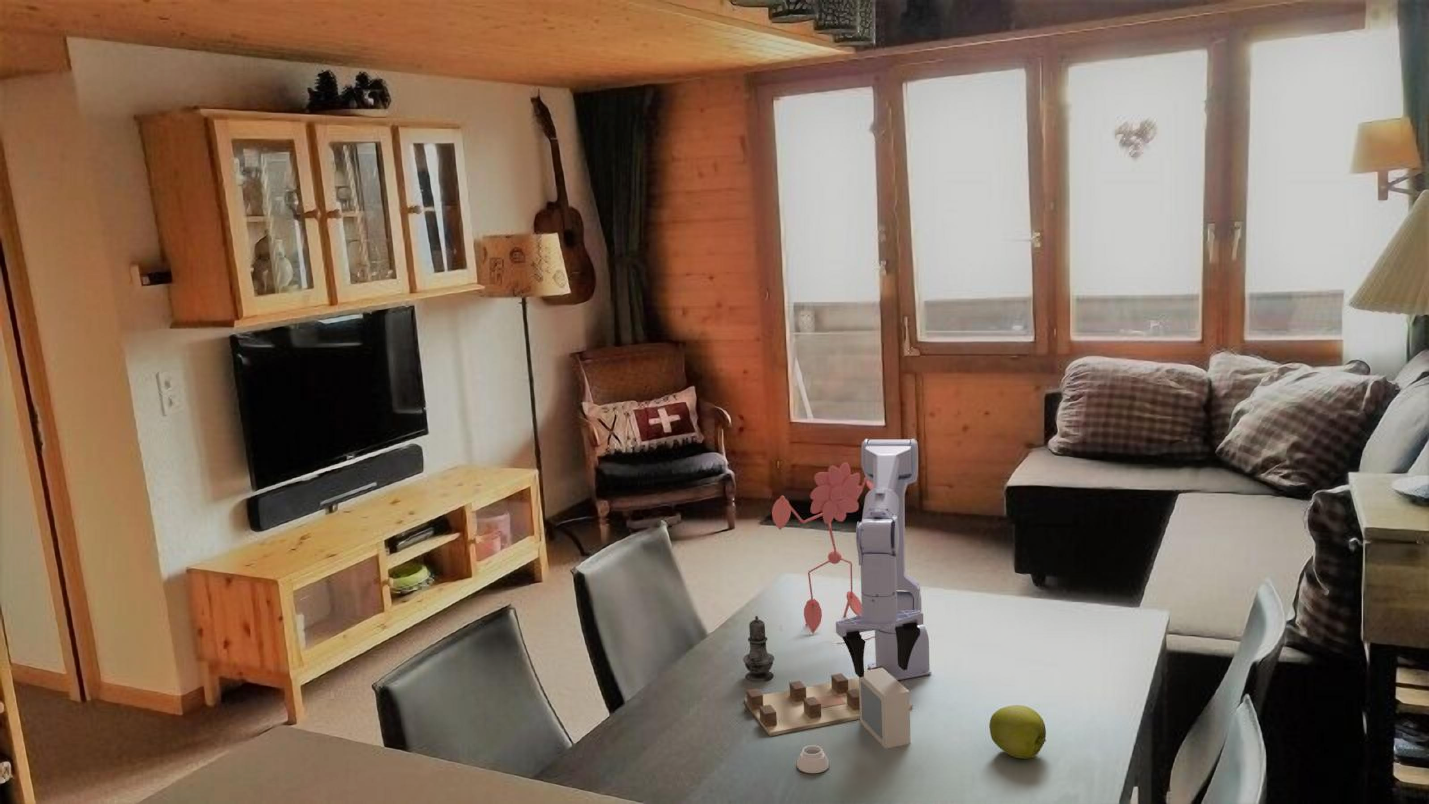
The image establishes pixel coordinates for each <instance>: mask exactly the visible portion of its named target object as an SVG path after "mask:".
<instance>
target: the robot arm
mask: <svg viewBox="0 0 1429 804" xmlns="http://www.w3.org/2000/svg"><path fill="white" fill-rule="evenodd" d="M918 445H919V444H918V441H917V440H916V439H915V438H911V439H910V438H908V439H907V438H906V439H903V438H902V439H899V438H898V439H892V438H891V439H887V438H886V439H885V438H884V439H880V438H879V439H869V438H865V439H864V440H863V441H862V442H861V449H860V450H861V451H860V453H861V454H860V459H861V460H860V463H861V469H862V471H863V474H864V476H865V477H866V478H867V480H868V481H869V482H872V483H873V489H872V490H870V489H869V491H868V492H867V493H866V495H865V498H864V504H863V510H862V516H861V517H862V518H861V521H857V523H856V527H855V545H856V546H855V547H856V549H857V558H858V559H857V560H858V566H860V594H861V599H860V601H861V604H862V615H859V616H857V615H856V616H853V617H849V618H847V619H843V620H839V621H835V633H836V634H837V636H839V637H841V638H842V640H843V643H844V644H845V647H846V648H847V650H848V653H849V655H850V657H851V661H852V665H853V669H854V674H855V675H856V676H857V677H858V678H859V677H864V671H865V663H864V660H865V659H864V657H865V647H866V640H865V639H863V638H862V634H861V633H864V632H866V633H867V632H870V631H871V632H872V631H874V636H875V637H874V643H875V644H874V647H875V648H874V651H875V662H870V663H868V664H867V667H868V669H869V670H872V668H874V667H879V666H883V667H884V668H885V669H886V670H887V671H889V674H890V675H891V676H893V677H894V678H895V679H896V680H897V681H901V680H906V679H907V680H908V679H911V678H916V677H917V678H918V677H922V676H928V675H931V674H932V670H931V669H930V640H929V635H928V631H927V629H926V626H925V624H924V613H923V611H922V610H923V609H922V595H921V586H920V583H919V582H918V581H917V580H916V579H914V578H913V577H912V576H910V575H909V574H908V573H907V572H906V537H905V536H906V528H905V526H906V524H905V523H906V522H905V517H906V515H905V513H906V512H905V511H906V509H905V508H906V507H905V501H906V500H905V499H906V498H905V496H906V495H905V494H906V492H907V491H906V490H907V487H908V485H911V484H913V483H916V482H917V480H918V477H919V446H918ZM865 477H864V478H865Z"/></svg>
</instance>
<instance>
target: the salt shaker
mask: <svg viewBox="0 0 1429 804" xmlns="http://www.w3.org/2000/svg"><path fill="white" fill-rule="evenodd" d="M765 625H766V624H765V622H764V621H763V620H761V619H759V617H758V615H755V617H754V619H753V620H751V621H750V623H749V627H748V629H749V637H748V639H747V641H748V643H749V653H748V654H746V655H744V656H743V657H742V661H743V662H744V666H745V668H746V669H747V671H748V672H747V673H746V674H745V676H744V677H745V679H746V680H747V681H749V682H752V683H766V682H770V681H771V680H772V679H774V673H773V672H772V671H770V670H771V669H772V667H773V665H774V661H775V656H774V655H773V654H771V653H769V652H768V651H767V641H768V637H767V636H766V626H765Z"/></svg>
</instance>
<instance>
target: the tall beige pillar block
mask: <svg viewBox="0 0 1429 804" xmlns="http://www.w3.org/2000/svg"><path fill="white" fill-rule="evenodd" d="M858 678H859V701H860V719H859V720H860V721H859V722H860V723H861V724H862V726H863V727H864V728H865V729H866V730H867V731H868V732H869V733H870V734H871V735H872V736H873V737H874V738H875V739H876V740H877V742H879V743H880V744H881V745H882V747H884V749H890V748H891V749H892V748H895V747H896V748H897V747H900V746H904V745H905V746H907V745H910V744H911V739H912V738H911V709H910V704H911V702H910V699H911V698H910V691H909V689H908V688H907V689H906V688H905V687H904V686H905V685H904V684H903V683H902V682H901V683H902V684H903V685H904V686H903V685H902V684H901V683H899V682H898V681H899V680H896V679H895V678H894V677H893V676H891V675H890V674H889V673H888V672H887V671H886V670H885V669H884V668H878V669H872V670H871V669H867V670H864V677H859V676H858Z"/></svg>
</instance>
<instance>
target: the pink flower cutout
mask: <svg viewBox="0 0 1429 804" xmlns="http://www.w3.org/2000/svg"><path fill="white" fill-rule="evenodd" d="M813 478H814V482H815V484H816V485H817V487H815V488H813V490H812V491H811V493H810V494H809V497H810V499H811V500H813V501H811V506H810V513H811V514H816V515H814V516H812V517H809V518H807V519H805V520H803V519H802V517H800V515H799V514H798V512H797V511H796V510H795V509H794V508H793V506H791V504H790V502H789V500H788V499H786V497H785V496H784V495H781V496H779V497H780V498H778V499H776V501H775V502H774V504H773V506H772V510H771V515H772V521H773V522H774V524H775V525H776V527H777V529H778V530H780V531H781V530H782V529H783V528H784V527H785V526H786V524H787V523H788V522H789V520H790V518H791V514H792V513H793V515H795V517H796V518H797V520H799V522H800V523H802V525H804V524H806V523H808V522H811V521H813V520H816V519H818V518H820V517H822V519H823V522H824V524H825V525H828V530H829V531H828V532H829V537H830V539H831V540H830V541H831V543H832V547H833V550H831V551H830V552H828V555H827V559H828V560H827V561H825V562H823V563H822V564H819V565H818V566H815V567H814V568H812V569H810V570H808V572H807V577H808V584H809V592H810V593H809V594H810V598H809V600H807V601H806V603H805V605H804V608H803V618H804V621H805V624H806V625H807V627H808V629H809V630H810V631H811V632H812V634H814V633H815V632H816V631H817V629H818V628H819V626H820V624H821V622H822V617H823V614H822V613H823V612H822V608H821V606H820V603H819V601H817V599H815V598H814V597H813V596H814V595H813V588H812V581H811V572H813V571H815V570H817V569H819V568H821V567H823V566H826V565H827V564H829V563H830V564H834V565H837V564H839V563H840V562H841V561H843V562H845V563H848V564H849V565H850V566H849V569H850V590H848V591H847V592H846V596H845V597H846V600H847V603H846V606H845V609H844V612H843V616H845V617H846V616H847V613H848V610H849V608H850V609H851V611H852V612H853V613H854V614H855V615H856V616H859V615H862V601H861V599H859V597H858V596H857V595H856V594H855V593H854V591H853V563H852V561H850V560H848V559H844V558H843V557H842V555H841V553H840V551H837V547H836V543H835V539H834V538H835V537H834V534H833V529H832V522H833V520H834V519H835V520H836V521H837V522H843V521H845V519H846V517H847V513H848V514H849V513H855V512H857V511H858V510H859V508H860V505H859V502H858V499H859V497H860V495H861V494H862V493H863V491H864V487H865V485H866V487H868V489H869V491H870V490H872V489H873V483H872V482H869V481H868V480H867V478H866V477H864V478H863V481H862V484H861V485H859V483H860V480H861V474H860V473H859V472H856V473H853V474H852V473H851V467H850V465H849V463H848V462H847V461H846V462H843V463H842V464H841V465H840V466H839V467H837V466H836V465H829V467H828V469H827V472H826V471H820V472H817V473H816V474H814V477H813ZM791 512H792V513H791ZM780 627H782V625H781V624H780ZM872 638H873V639H874V638H875V635H874V636H871V637H869V638H865V639H864V641H865V642H867V641H869V640H871V639H872ZM836 644H841V645H842V642H836Z"/></svg>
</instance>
